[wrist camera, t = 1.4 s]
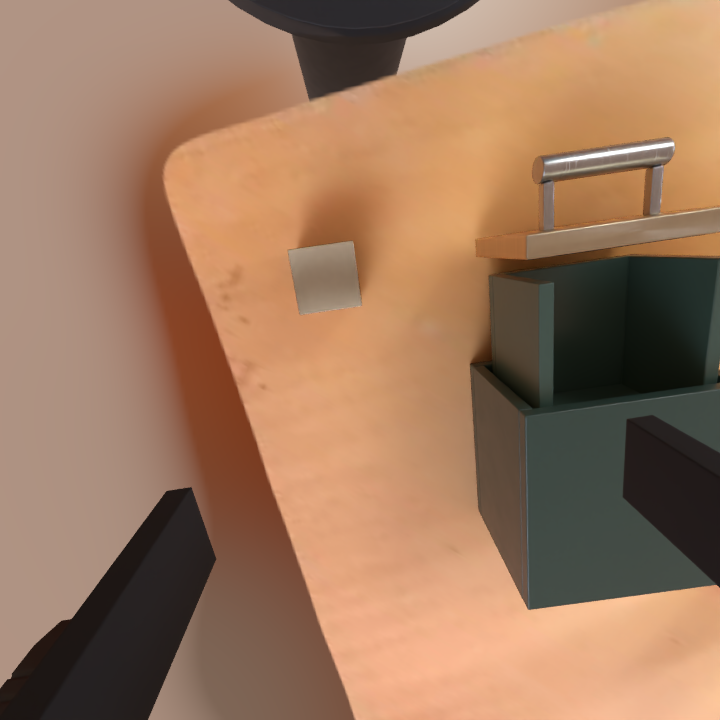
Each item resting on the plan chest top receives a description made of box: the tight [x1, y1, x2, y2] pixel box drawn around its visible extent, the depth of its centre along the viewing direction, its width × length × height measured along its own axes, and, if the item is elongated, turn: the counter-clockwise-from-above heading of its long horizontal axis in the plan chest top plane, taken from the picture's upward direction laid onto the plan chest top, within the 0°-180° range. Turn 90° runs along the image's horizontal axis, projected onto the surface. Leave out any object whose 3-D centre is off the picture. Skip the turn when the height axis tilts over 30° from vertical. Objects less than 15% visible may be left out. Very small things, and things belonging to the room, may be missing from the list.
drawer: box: [475, 137, 720, 409], centre depth 23 cm, size 16×11×8 cm
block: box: [288, 241, 362, 315], centre depth 25 cm, size 4×4×4 cm
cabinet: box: [470, 361, 720, 610], centre depth 27 cm, size 14×13×10 cm
